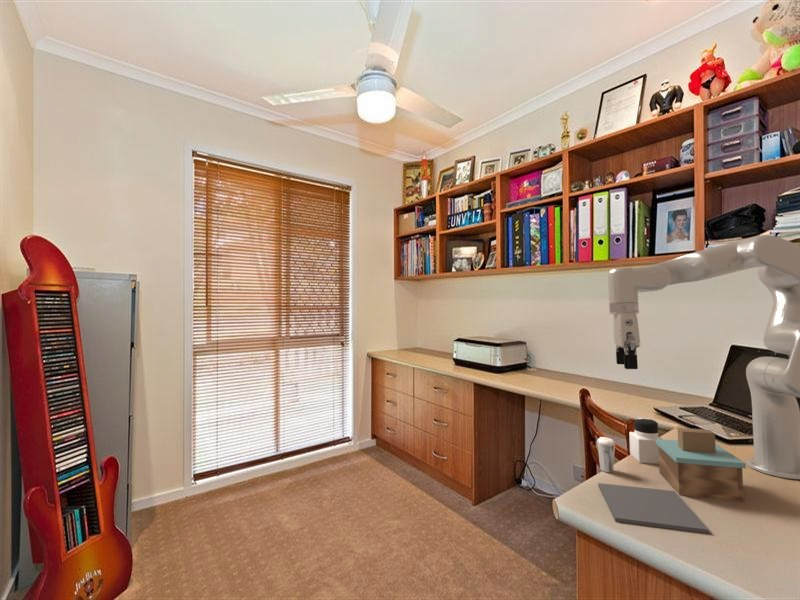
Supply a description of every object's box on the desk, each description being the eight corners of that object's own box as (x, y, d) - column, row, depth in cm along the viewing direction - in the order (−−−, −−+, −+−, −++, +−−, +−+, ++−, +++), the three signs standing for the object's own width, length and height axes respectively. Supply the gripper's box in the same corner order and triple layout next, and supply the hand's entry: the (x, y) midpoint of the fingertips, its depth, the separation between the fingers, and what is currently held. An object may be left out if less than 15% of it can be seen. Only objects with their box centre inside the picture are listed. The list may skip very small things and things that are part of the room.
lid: (715, 450, 101) (714, 424, 102) (746, 471, 88) (744, 441, 88) (655, 446, 105) (654, 421, 106) (676, 465, 92) (675, 437, 92)
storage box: (715, 478, 101) (713, 448, 101) (743, 501, 88) (742, 467, 89) (659, 472, 105) (658, 443, 105) (679, 494, 92) (677, 461, 92)
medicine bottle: (666, 464, 110) (664, 423, 110) (639, 463, 111) (637, 422, 112) (654, 455, 117) (653, 416, 117) (629, 454, 118) (628, 416, 119)
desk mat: (674, 494, 92) (674, 491, 92) (709, 533, 76) (708, 529, 76) (598, 486, 97) (598, 483, 97) (615, 521, 81) (615, 517, 81)
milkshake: (591, 467, 109) (590, 433, 109) (609, 466, 109) (608, 432, 109) (601, 474, 104) (600, 438, 104) (619, 473, 105) (618, 437, 105)
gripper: (647, 308, 102) (650, 371, 102) (630, 308, 119) (633, 362, 118) (616, 309, 105) (619, 370, 104) (604, 309, 121) (606, 362, 121)
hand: (626, 366), depth 111 cm, fingers open, 9 cm apart
